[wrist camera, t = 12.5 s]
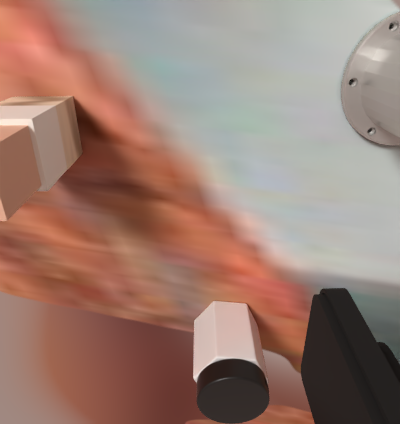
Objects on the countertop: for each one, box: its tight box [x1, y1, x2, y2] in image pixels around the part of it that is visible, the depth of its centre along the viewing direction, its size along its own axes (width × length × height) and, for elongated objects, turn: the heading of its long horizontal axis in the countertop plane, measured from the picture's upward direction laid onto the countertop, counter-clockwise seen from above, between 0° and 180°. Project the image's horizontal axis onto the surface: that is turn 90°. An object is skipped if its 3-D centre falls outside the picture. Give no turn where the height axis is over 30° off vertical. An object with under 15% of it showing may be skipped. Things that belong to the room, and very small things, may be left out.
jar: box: [193, 301, 269, 424], centre depth 45 cm, size 9×8×12 cm
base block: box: [0, 96, 83, 169], centre depth 35 cm, size 6×6×5 cm
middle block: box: [0, 105, 68, 191], centre depth 31 cm, size 6×6×5 cm
